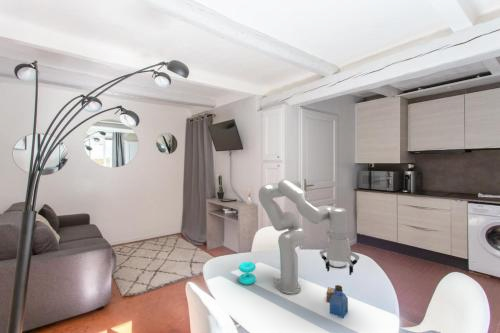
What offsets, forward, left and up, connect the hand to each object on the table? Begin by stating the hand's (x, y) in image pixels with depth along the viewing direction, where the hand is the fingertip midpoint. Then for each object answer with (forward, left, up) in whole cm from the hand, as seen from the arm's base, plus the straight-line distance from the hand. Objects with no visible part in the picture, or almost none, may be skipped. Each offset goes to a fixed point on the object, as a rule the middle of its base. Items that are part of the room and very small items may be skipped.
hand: (339, 272), depth 113 cm
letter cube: (-4, +9, -19) cm, 22 cm away
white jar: (-7, +53, -19) cm, 57 cm away
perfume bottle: (0, 0, -19) cm, 19 cm away
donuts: (-52, +9, -19) cm, 57 cm away
